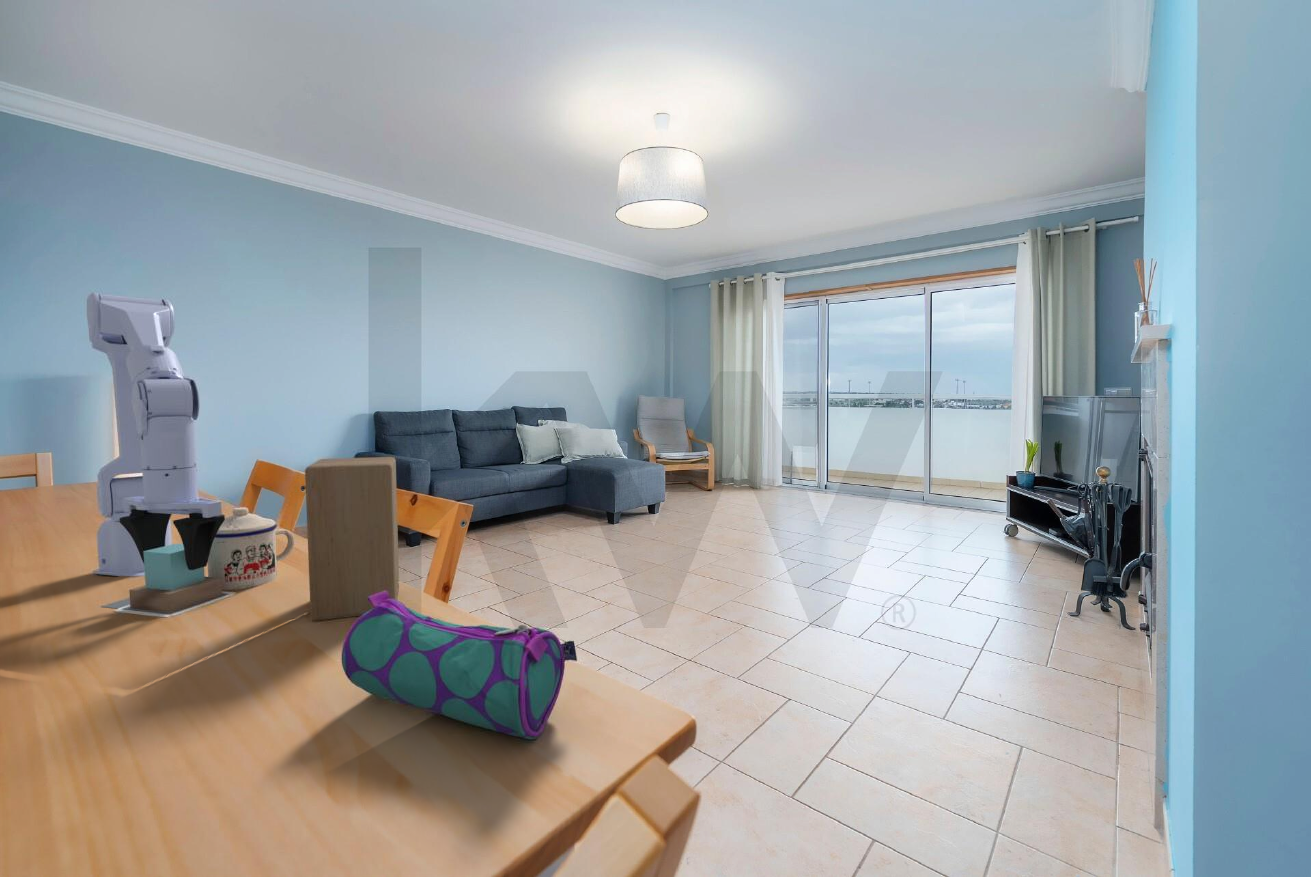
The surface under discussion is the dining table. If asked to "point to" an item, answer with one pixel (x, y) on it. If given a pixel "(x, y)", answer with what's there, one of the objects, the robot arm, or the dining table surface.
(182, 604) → the walnut base
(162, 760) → the dining table surface
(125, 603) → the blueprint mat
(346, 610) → the wooden block
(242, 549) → the teacup with lid
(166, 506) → the robot arm
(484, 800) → the dining table surface
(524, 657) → the pencil case
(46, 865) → the dining table surface
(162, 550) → the teal cube
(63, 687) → the dining table surface
